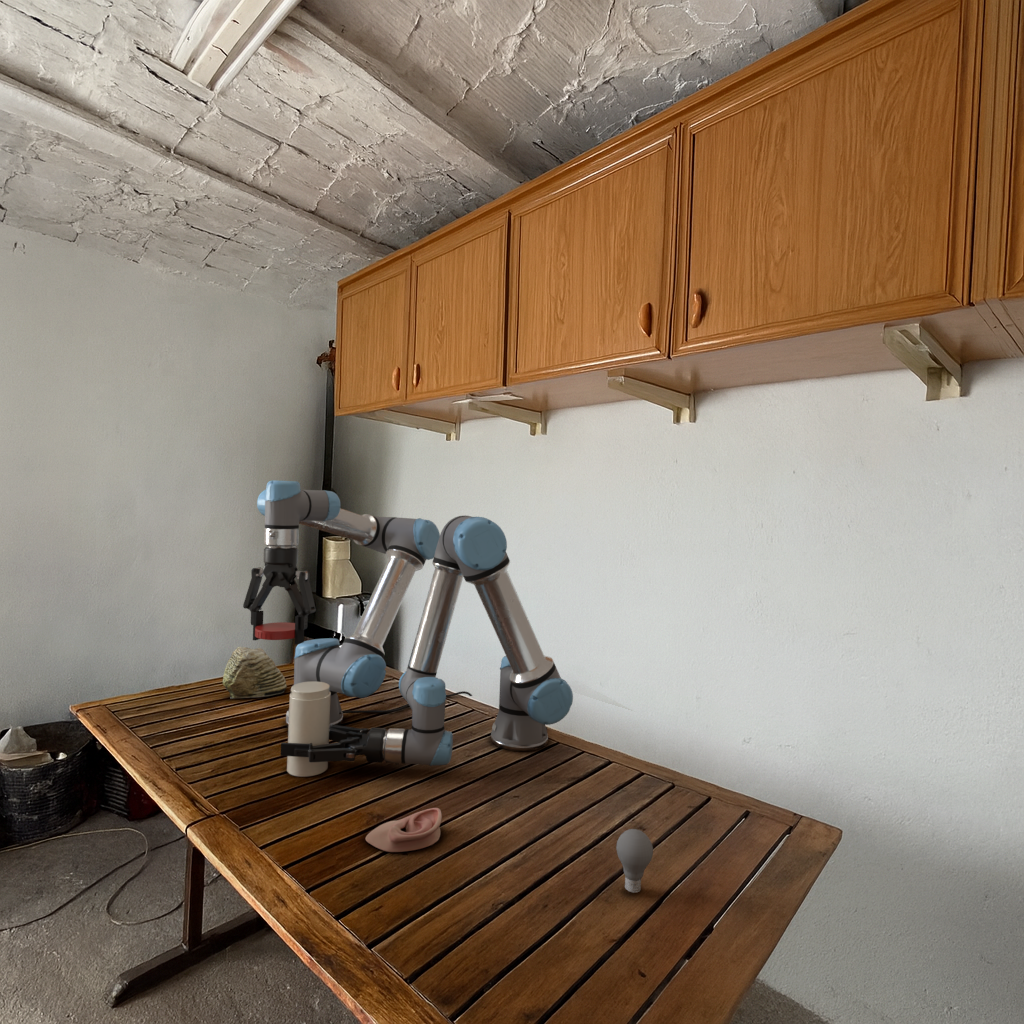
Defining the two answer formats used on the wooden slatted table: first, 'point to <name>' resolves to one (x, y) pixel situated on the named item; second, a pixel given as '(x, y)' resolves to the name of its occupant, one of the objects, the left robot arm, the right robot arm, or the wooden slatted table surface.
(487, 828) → the wooden slatted table surface
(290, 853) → the wooden slatted table surface
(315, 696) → the jar
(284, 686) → the fossil
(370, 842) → the anatomical model
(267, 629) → the lid
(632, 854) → the light bulb
